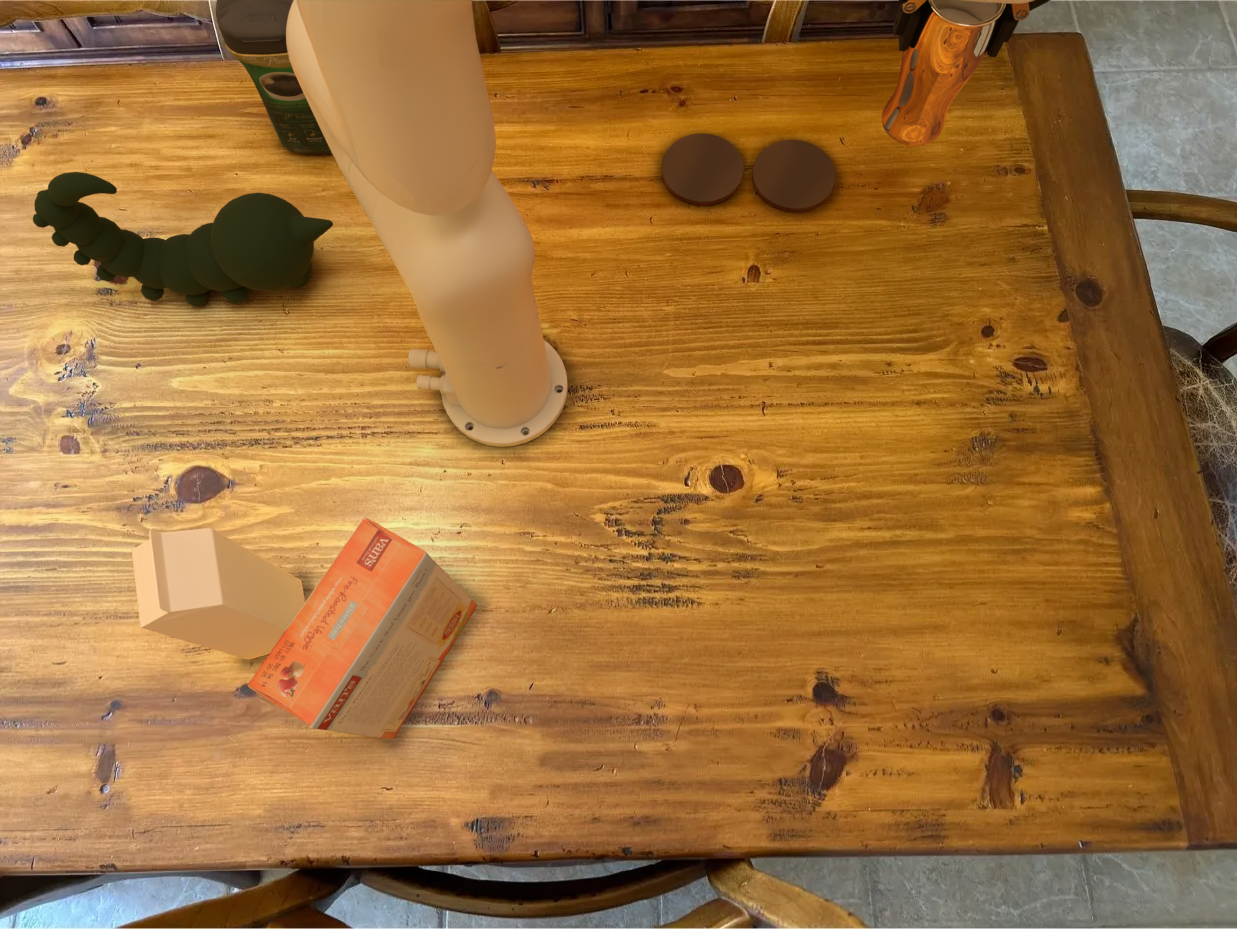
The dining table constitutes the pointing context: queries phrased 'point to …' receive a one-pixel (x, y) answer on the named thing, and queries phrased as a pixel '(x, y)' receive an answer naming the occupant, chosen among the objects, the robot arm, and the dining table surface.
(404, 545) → the cracker box
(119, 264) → the toy figurine
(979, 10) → the wood grain tumbler
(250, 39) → the coffee jar
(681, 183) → the coaster
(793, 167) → the coaster
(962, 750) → the dining table surface
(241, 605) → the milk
